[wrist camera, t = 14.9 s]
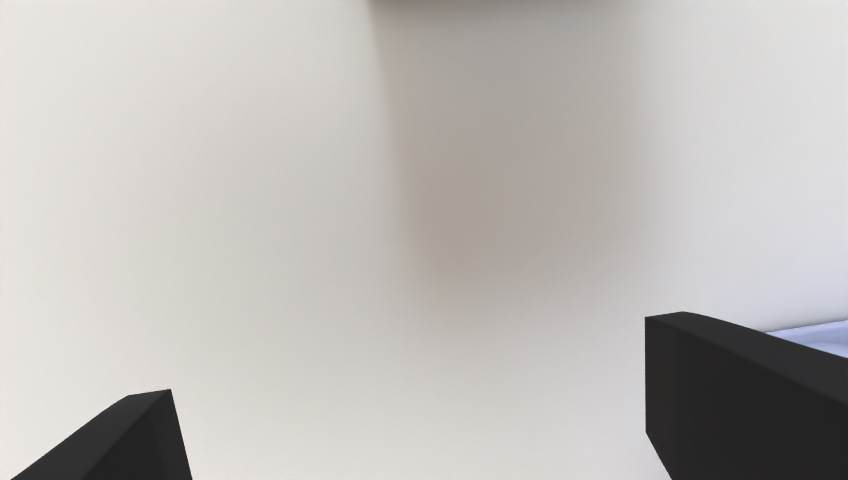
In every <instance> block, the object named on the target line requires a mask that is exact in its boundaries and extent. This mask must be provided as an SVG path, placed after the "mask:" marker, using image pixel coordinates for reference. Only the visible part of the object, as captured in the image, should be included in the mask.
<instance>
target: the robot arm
mask: <svg viewBox="0 0 848 480" xmlns="http://www.w3.org/2000/svg"><path fill="white" fill-rule="evenodd" d="M645 400H646V434H647V435H648V437H649V439H650V441H651V443H652V445H653V447H654V449H655V450H656V452H657V454H658V456H659V458H660V460H661V462H662V463H663V465H664V467H665V469H666V470H667V472H668V474H669V476H670V477H671V479H672V480H848V320H844V321H838V322H831V323H825V324H818V325H812V326H806V327H799V328H793V329H786V330H780V331H774V332H767V333H763V332H759V331H756V330H753V329H750V328H746V327H743V326H740V325H737V324H733V323H730V322H727V321H723V320H719V319H716V318H712V317H708V316H704V315H700V314H695V313H690V312H683V311H682V312H676V313H669V314H662V315H656V316H649V317H645ZM11 480H192V476H191V472H190V467H189V463H188V459H187V455H186V451H185V446H184V442H183V438H182V434H181V430H180V425H179V421H178V417H177V413H176V409H175V404H174V400H173V396H172V392H171V389H167V390H161V391H154V392H147V393H141V394H134V395H128V396H126V397H124V398H123V399H121V400H119V401H117V402H116V403H114V404H113V405H111V406H110V407H108V408H107V409H106V410H104V411H103V412H101V413H100V414H99V415H97V416H96V417H94V418H93V419H92V420H90V421H89V422H88V423H86V424H85V425H84V426H82V427H81V428H80V429H78V430H77V431H76V432H74V433H73V434H72V435H70V436H69V437H68V438H66V439H65V440H64V441H62V442H61V443H60V444H58V445H57V446H56V447H54V448H53V449H52V450H50V451H49V452H48V453H46V454H45V455H44V456H42V457H41V458H40V459H38V460H37V461H36V462H34V463H33V464H32V465H30V466H29V467H28V468H26V469H25V470H24V471H22V472H21V473H19V474H18V475H17V476H15V477H14V478H12V479H11Z"/></svg>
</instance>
